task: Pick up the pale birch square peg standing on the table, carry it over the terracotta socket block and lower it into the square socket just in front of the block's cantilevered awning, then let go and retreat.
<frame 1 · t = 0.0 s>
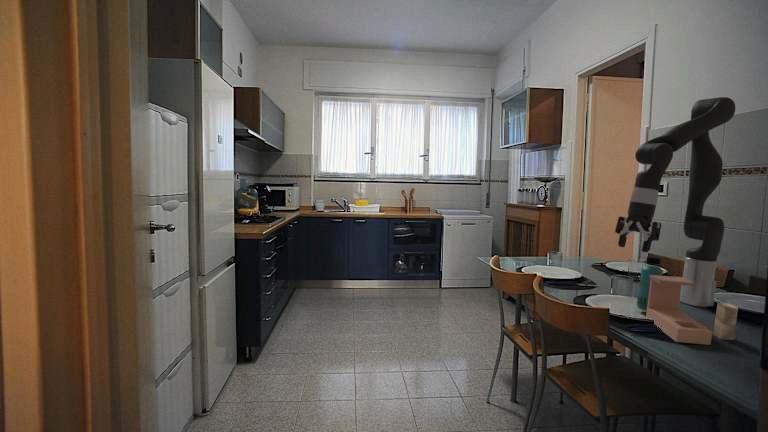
hand: (632, 249, 136), 22 cm above the table, tool pointing down, fingers open, 8 cm apart
beverage bottle: (646, 313, 139), on the table
socket stand: (675, 330, 124), on the table
peg: (722, 337, 120), on the table
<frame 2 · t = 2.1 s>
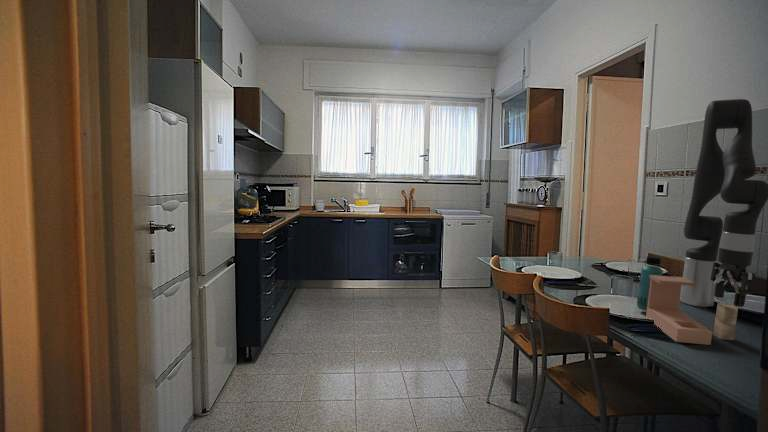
hand: (728, 301, 119), 11 cm above the table, tool pointing down, fingers open, 8 cm apart
nothing on the table moved.
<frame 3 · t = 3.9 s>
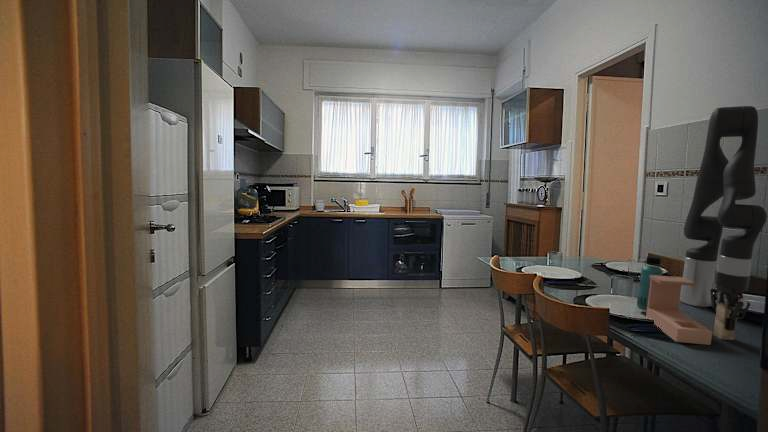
hand: (724, 327, 120), 3 cm above the table, tool pointing down, fingers closed on peg, 3 cm apart
peg: (723, 337, 120), on the table, touching gripper
everything else where it was.
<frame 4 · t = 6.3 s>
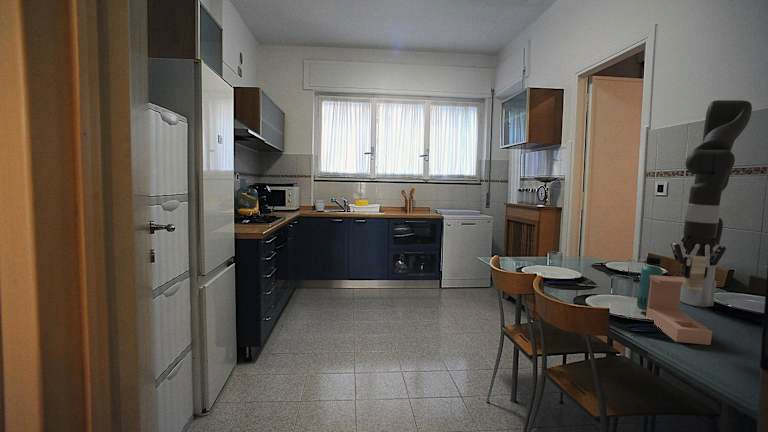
hand: (693, 278, 117), 18 cm above the table, tool pointing down, fingers closed on peg, 3 cm apart
peg: (692, 288, 117), point 15 cm above the table, touching gripper
everything else where it was.
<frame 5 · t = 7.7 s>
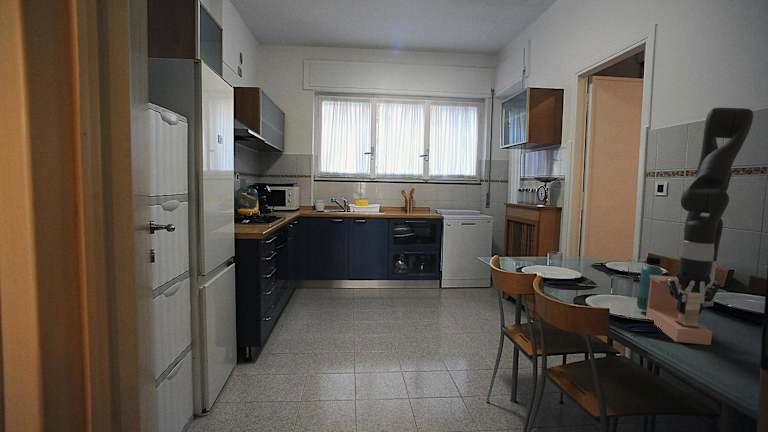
hand: (688, 313, 118), 7 cm above the table, tool pointing down, fingers closed on peg, 3 cm apart
peg: (687, 323, 118), point 4 cm above the table, touching gripper
everything else where it was.
when the fingers open (5 cm above the table, at t = 8.9 s): peg drops 1 cm, resting in socket stand.
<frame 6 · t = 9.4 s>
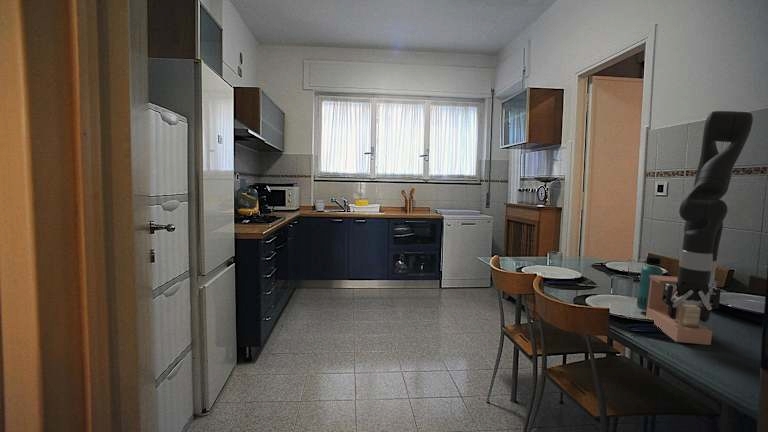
hand: (687, 319, 118), 6 cm above the table, tool pointing down, fingers open, 8 cm apart
peg: (685, 337, 119), resting in socket stand
everything else where it was.
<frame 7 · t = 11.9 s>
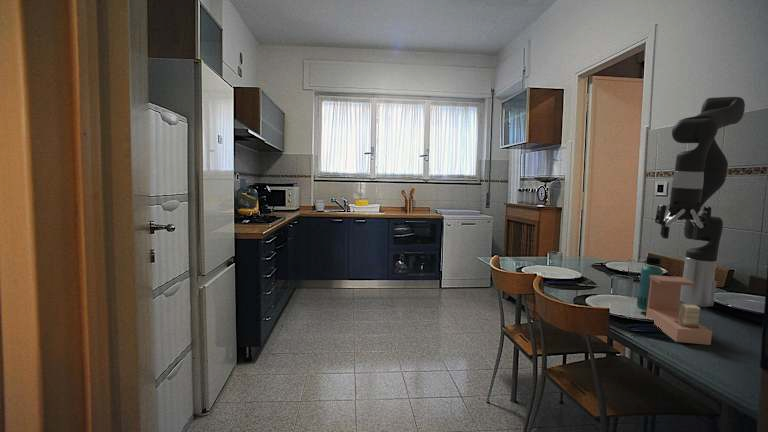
hand: (679, 238, 123), 28 cm above the table, tool pointing down, fingers open, 8 cm apart
nothing on the table moved.
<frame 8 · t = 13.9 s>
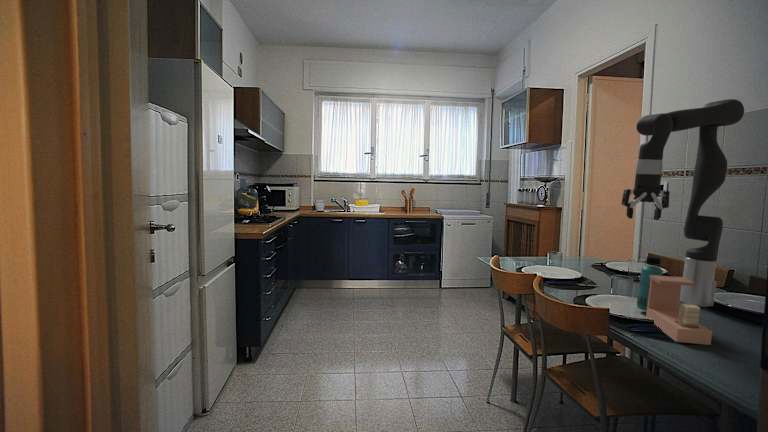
hand: (643, 219, 141), 32 cm above the table, tool pointing down, fingers open, 8 cm apart
nothing on the table moved.
at the end: peg 0.2 cm from the target spot on the socket stand, point 0.0 cm above the socket stand's base; peg tilted 0°; the gripper is holding nothing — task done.
